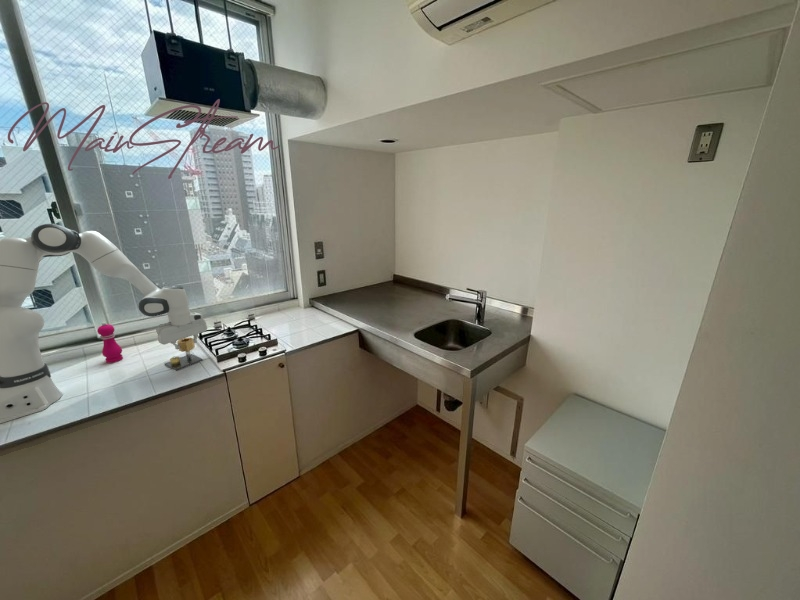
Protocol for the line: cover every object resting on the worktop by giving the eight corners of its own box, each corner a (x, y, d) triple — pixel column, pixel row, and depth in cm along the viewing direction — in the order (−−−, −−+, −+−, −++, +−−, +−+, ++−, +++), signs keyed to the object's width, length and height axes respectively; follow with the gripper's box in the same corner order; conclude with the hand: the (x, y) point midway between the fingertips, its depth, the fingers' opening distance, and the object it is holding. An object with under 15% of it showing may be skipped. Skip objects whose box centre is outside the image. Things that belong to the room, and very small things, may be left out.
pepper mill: (112, 364, 151) (101, 325, 145) (100, 362, 152) (89, 324, 147) (128, 357, 158) (117, 319, 152) (116, 356, 159) (105, 318, 153)
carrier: (176, 371, 144) (173, 358, 142) (164, 365, 150) (161, 352, 148) (203, 360, 154) (200, 348, 152) (191, 355, 159) (188, 343, 158)
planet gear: (183, 352, 148) (181, 343, 147) (177, 349, 151) (175, 341, 150) (196, 347, 153) (195, 339, 152) (190, 345, 156) (188, 336, 155)
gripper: (158, 327, 138) (165, 355, 142) (206, 313, 154) (211, 339, 158) (151, 324, 141) (158, 352, 145) (199, 311, 158) (204, 337, 162)
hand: (186, 345), depth 152 cm, fingers closed on planet gear, 6 cm apart
